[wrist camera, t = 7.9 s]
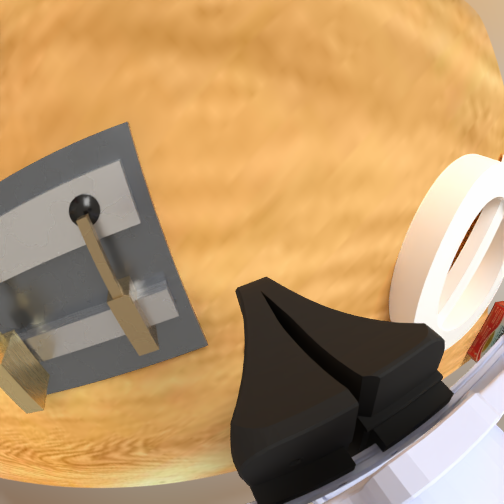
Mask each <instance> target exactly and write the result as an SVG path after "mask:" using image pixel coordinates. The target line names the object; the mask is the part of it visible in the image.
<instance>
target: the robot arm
mask: <svg viewBox="0 0 504 504" xmlns="http://www.w3.org/2000/svg"><path fill="white" fill-rule="evenodd" d="M236 295H237V298H238V302H239V305H240V308H241V312H242V315H243V319H244V334H245V351H244V364H243V373H242V380H241V385H240V390H239V395H238V399H237V403H236V407H235V410H234V413H233V417H232V420H231V424H230V425H231V432H230V440H231V454H232V458H233V462H234V464H235V467H236V469H237V471H238V474H239V476H240V477H241V478H242V479H243V480H244V481H245V482H246V483H247V484H248V485H249V486H250V488H251V490H252V492H253V495H254V497H255V499H256V501H253V502H250V503H247V504H308V503H310V502H312V503H314V504H504V432H503V431H502V430H501V429H500V428H499V427H498V426H497V425H496V423H497V422H498V421H499V420H500V418H501V416H502V415H503V414H504V334H503V335H502V336H501V337H500V338H499V340H498V341H497V342H496V343H495V344H494V345H493V346H492V347H491V348H490V349H489V351H488V352H487V353H486V354H485V355H484V356H483V357H482V358H481V359H480V360H479V361H478V362H477V363H476V364H475V365H474V366H473V367H472V368H471V369H470V370H469V371H468V372H467V373H466V374H465V375H463V376H462V377H461V378H460V379H459V380H458V381H457V382H456V383H455V384H454V385H452V386H451V387H450V388H448V387H447V386H446V385H445V384H444V383H443V382H442V381H441V380H442V378H443V376H442V374H441V373H440V372H439V371H437V368H438V366H439V364H440V361H441V358H442V356H443V353H444V349H445V340H444V339H443V338H442V337H441V336H440V335H439V334H437V333H436V332H435V331H434V330H433V329H431V328H430V327H429V326H428V325H426V324H425V323H398V322H389V321H380V320H374V319H368V318H364V317H359V316H354V315H351V314H347V313H344V312H340V311H337V310H334V309H331V308H328V307H325V306H323V305H320V304H318V303H316V302H313V301H311V300H309V299H307V298H305V297H303V296H301V295H299V294H297V293H295V292H293V291H291V290H289V289H287V288H285V287H284V286H282V285H280V284H278V283H277V282H275V281H273V280H271V279H270V278H268V277H264V278H262V279H259V280H256V281H254V282H251V283H249V284H246V285H243V286H241V287H238V288H237V289H236ZM439 421H440V422H439ZM438 422H439V423H438ZM437 423H438V424H437ZM436 424H437V425H436ZM435 425H436V426H435ZM433 426H434V427H433ZM432 427H433V428H432ZM431 428H432V429H431ZM430 429H431V430H430ZM428 430H430V431H428ZM427 431H428V432H427ZM426 432H427V433H426ZM425 433H426V434H425ZM423 434H424V435H423Z"/></svg>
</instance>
